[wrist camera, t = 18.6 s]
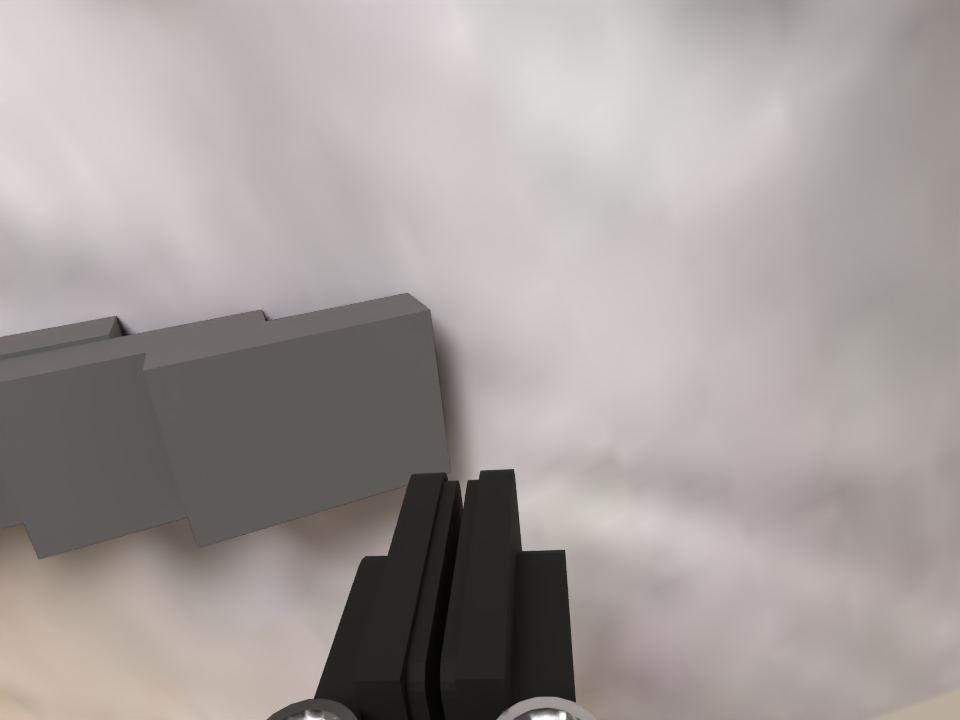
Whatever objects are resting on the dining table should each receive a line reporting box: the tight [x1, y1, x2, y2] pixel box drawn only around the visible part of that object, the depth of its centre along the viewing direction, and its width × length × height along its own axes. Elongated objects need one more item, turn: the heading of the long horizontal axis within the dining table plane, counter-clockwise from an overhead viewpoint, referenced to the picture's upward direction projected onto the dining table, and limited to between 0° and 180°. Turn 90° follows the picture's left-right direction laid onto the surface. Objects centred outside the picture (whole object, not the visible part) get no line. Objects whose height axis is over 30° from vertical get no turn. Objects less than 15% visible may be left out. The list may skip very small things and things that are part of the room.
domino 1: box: [0, 316, 123, 529], centre depth 19 cm, size 2×5×7 cm
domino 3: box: [143, 293, 451, 548], centre depth 18 cm, size 2×5×7 cm
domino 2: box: [0, 310, 266, 559], centre depth 19 cm, size 2×5×7 cm
